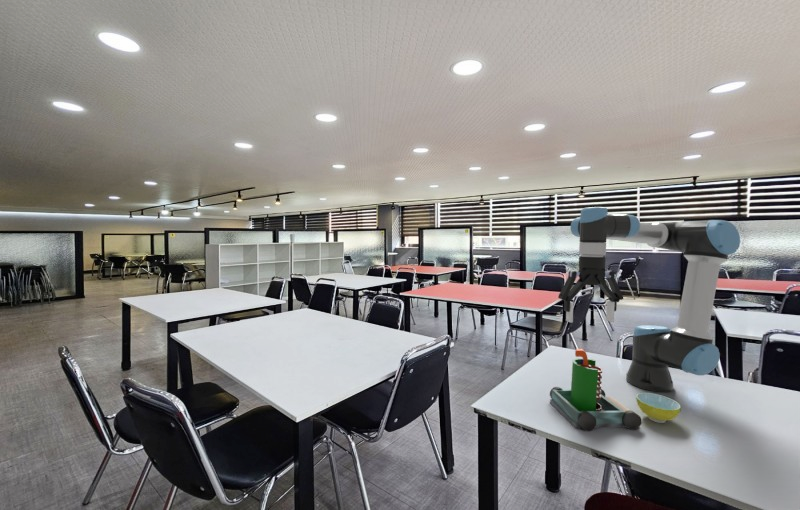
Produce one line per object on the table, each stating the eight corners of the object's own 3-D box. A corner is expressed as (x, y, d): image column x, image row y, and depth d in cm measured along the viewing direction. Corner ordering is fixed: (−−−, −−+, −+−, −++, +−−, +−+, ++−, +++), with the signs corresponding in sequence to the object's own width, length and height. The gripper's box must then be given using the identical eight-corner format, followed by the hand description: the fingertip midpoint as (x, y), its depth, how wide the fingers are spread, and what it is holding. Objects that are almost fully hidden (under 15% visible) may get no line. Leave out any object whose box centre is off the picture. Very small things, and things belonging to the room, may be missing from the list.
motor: (606, 420, 108) (609, 357, 107) (575, 417, 110) (577, 354, 108) (594, 404, 118) (597, 346, 117) (566, 401, 119) (568, 344, 118)
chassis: (602, 399, 124) (603, 386, 124) (642, 429, 105) (643, 413, 105) (548, 400, 123) (548, 386, 123) (578, 430, 104) (578, 414, 104)
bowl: (689, 427, 106) (690, 408, 106) (657, 430, 104) (658, 410, 104) (656, 409, 117) (657, 391, 117) (626, 411, 115) (627, 393, 115)
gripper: (621, 255, 116) (618, 318, 117) (548, 255, 114) (546, 318, 115) (638, 256, 108) (635, 323, 109) (560, 256, 107) (558, 324, 108)
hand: (589, 321), depth 112 cm, fingers open, 13 cm apart
